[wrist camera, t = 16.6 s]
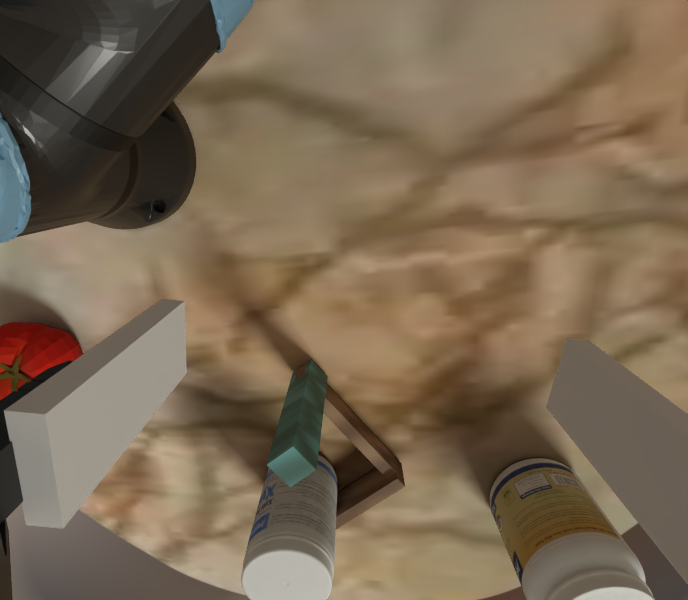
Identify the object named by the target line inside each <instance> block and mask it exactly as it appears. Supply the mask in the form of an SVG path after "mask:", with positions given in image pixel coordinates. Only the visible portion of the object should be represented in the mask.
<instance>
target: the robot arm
mask: <svg viewBox="0 0 688 600" xmlns="http://www.w3.org/2000/svg"><path fill="white" fill-rule="evenodd" d="M253 3H254V0H0V243H2V242H7V241H9V240H10V239H14V238H15V237H19V236H23V235H28V234H32V233H37V232H41V231H46V230H50V229H55V228H59V227H64V226H68V225H73V224H77V223H82V222H86V221H87V222H90V223H94V224H97V225H101V226H104V227H108V228H114V229H136V228H142V227H145V226H149V225H152V224H155V223H158V222H160V221H163V220H164V219H166V218H168V217H169V216H171V215H172V214H173V213H175V212H176V211H177V210H178V209H179V208H180V206H181V205H182V204H183V203H184V201H185V200H186V198H187V196H188V194H189V193H190V190H191V188H192V185H193V181H194V177H195V171H196V153H195V147H194V142H193V138H192V135H191V132H190V129H189V127H188V125H187V123H186V121H185V119H184V117H183V115H182V114H181V112H180V111H179V109H178V108H177V107H176V105H175V104H174V103H173V102H172V101H173V100H174V99H175V98H176V96H177V95H178V94H179V93H180V92H181V91H182V90H183V88H184V87H185V86H186V85H187V84H188V83H189V82H190V81H191V79H192V78H193V77H194V76H195V75H196V74H197V73H198V71H199V70H200V69H201V68H202V67H203V66H204V65H205V64H206V62H207V61H208V60H209V59H210V58H211V57H212V56H213V54H214V53H215V52H217V53H220V52H222V50H223V49H224V48H225V46H226V41H227V39H228V37H229V36H230V35H231V34H232V32H233V31H234V30H235V29H236V27H237V26H238V25H239V24H240V22H241V21H242V20H243V19H244V17H245V16H246V15H247V14H248V12H249V11H250V9H251V7H252V5H253ZM186 373H187V370H186V335H185V301H178V300H168V299H161V300H160V301H158V302H157V303H155V304H154V305H153V306H151V307H150V308H148V309H147V310H146V311H144V312H143V313H141V314H140V315H138V316H137V317H136V318H134V319H133V320H131V321H130V322H129V323H127V324H126V325H124V326H123V327H121V328H120V329H119V330H117V331H116V332H114V333H113V334H112V335H110V336H109V337H107V338H106V339H104V340H103V341H102V342H100V343H99V344H97V345H96V346H95V347H93V348H92V349H90V350H89V351H87V352H86V353H85V354H83V355H82V356H80V357H79V358H78V359H76V360H75V361H69V360H68V361H66V362H63V363H61V364H58V365H56V366H53V367H51V368H48V369H46V370H45V371H43V372H42V373H40V374H39V375H37V376H36V377H34V378H33V379H31V382H27V383H25V384H24V385H22V386H21V387H19V388H18V390H17V391H13V392H12V393H10V394H9V395H7V396H6V397H4V398H3V399H1V400H0V600H12V582H11V565H10V547H9V531H8V527H7V521H6V518H7V517H8V516H9V515H10V514H11V513H12V512H13V511H14V510H15V509H16V508H17V507H18V506H19V505H20V504H21V503H22V507H23V512H24V517H25V523H26V525H30V526H42V527H53V528H64V527H65V525H66V524H67V523H68V522H69V520H70V519H71V518H72V517H73V515H74V514H75V513H76V512H77V510H78V509H79V508H80V507H81V505H82V504H83V503H84V502H85V500H86V499H87V498H88V497H89V495H90V494H91V493H92V491H93V490H94V489H95V488H96V486H97V485H98V484H99V483H100V481H101V480H102V479H103V478H104V476H105V475H106V474H107V473H108V471H109V470H110V469H111V468H112V466H113V465H114V464H115V463H116V461H117V460H118V459H119V458H120V456H121V455H122V454H123V453H124V451H125V450H126V449H127V447H128V446H129V445H130V444H131V442H132V441H133V440H134V439H135V437H136V436H137V435H138V434H139V432H140V431H141V430H142V429H143V427H144V426H145V425H146V424H147V422H148V421H149V420H150V419H151V417H152V416H153V415H154V414H155V412H156V411H157V410H158V408H159V407H160V406H161V405H162V403H163V402H164V401H165V400H166V398H167V397H168V396H169V395H170V393H171V392H172V391H173V390H174V388H175V387H176V386H177V385H178V383H179V382H180V381H181V380H182V378H183V377H184V376H185V375H186ZM547 409H548V410H549V411H550V412H551V414H552V415H553V416H554V418H555V419H556V420H557V421H558V423H559V424H560V425H561V426H562V428H563V429H564V430H565V431H566V433H567V434H568V435H569V436H570V438H571V439H572V440H573V441H574V443H575V444H576V445H577V446H578V448H579V449H580V450H581V451H582V453H583V454H584V455H585V456H586V458H587V459H588V460H589V461H590V463H591V464H592V465H593V466H594V468H595V469H596V470H597V471H598V473H599V474H600V475H601V476H602V478H603V479H604V480H605V481H606V483H607V484H608V485H609V486H610V488H611V489H612V490H613V491H614V493H615V494H616V495H617V496H618V498H619V499H620V500H621V501H622V503H623V504H624V505H625V507H626V508H627V509H628V510H629V512H630V513H631V514H632V515H633V517H634V518H635V519H636V520H637V522H638V523H639V524H640V525H641V527H642V528H643V529H644V530H645V532H646V533H647V534H648V535H649V536H650V538H651V539H652V540H653V542H654V543H655V544H656V545H657V547H658V548H659V549H660V550H661V552H662V553H663V554H664V555H665V557H666V558H667V559H668V560H669V562H670V563H671V564H672V565H673V567H674V568H675V569H676V570H677V572H678V573H679V574H680V575H681V577H682V578H683V579H684V580H685V582H686V583H687V584H688V414H687V413H686V412H684V411H683V410H681V409H680V408H679V407H677V406H676V405H675V404H673V403H672V402H671V401H669V400H668V399H667V398H665V397H664V396H663V395H661V394H660V393H659V392H657V391H656V390H655V389H653V388H652V387H651V386H649V385H648V384H647V383H645V382H644V381H643V380H641V379H640V378H639V377H637V376H636V375H635V374H633V373H632V372H631V371H629V370H628V369H626V368H625V367H624V366H622V365H621V364H620V363H618V362H617V361H616V360H614V359H613V358H612V357H610V356H609V355H608V354H606V353H605V352H604V351H602V350H601V349H600V348H598V347H597V346H596V345H594V344H593V343H592V342H590V341H589V340H581V339H571V338H566V342H565V345H564V348H563V352H562V355H561V359H560V362H559V366H558V369H557V372H556V376H555V379H554V383H553V386H552V390H551V393H550V396H549V400H548V403H547Z"/></svg>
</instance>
